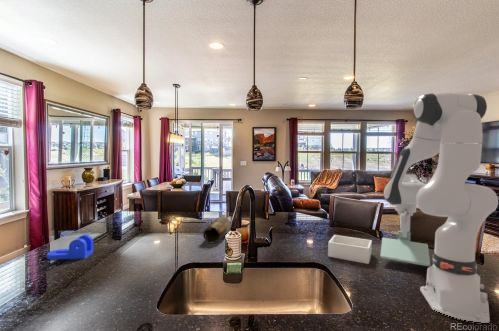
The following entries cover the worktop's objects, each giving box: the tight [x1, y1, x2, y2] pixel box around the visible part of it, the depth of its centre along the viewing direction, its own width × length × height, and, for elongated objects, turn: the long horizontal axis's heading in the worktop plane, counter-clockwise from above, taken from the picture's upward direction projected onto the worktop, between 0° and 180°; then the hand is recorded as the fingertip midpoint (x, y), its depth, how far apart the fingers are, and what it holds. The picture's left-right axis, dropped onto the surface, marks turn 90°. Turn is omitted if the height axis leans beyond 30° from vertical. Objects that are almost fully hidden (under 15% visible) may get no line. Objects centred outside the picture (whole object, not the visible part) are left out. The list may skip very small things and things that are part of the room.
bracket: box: [46, 234, 94, 261], centre depth 128 cm, size 18×8×9 cm, turn 96°
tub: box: [327, 234, 373, 265], centre depth 132 cm, size 14×18×7 cm
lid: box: [379, 229, 431, 268], centre depth 123 cm, size 18×19×5 cm
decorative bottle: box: [202, 213, 234, 245], centre depth 168 cm, size 11×11×45 cm
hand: (404, 236), depth 129 cm, fingers closed on lid
